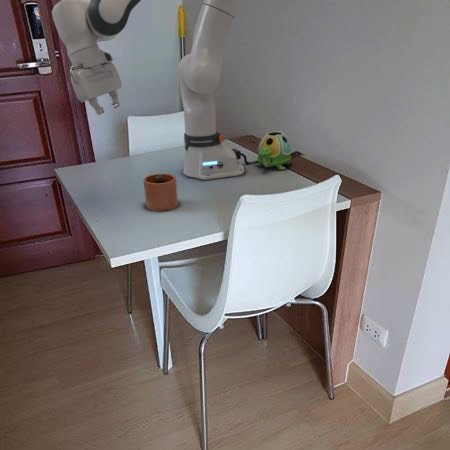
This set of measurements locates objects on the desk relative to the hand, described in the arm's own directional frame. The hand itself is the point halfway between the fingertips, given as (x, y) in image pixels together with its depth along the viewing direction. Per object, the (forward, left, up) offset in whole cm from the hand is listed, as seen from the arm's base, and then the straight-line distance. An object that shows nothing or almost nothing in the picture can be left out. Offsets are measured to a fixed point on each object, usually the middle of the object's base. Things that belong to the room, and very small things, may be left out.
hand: (109, 110), depth 145 cm
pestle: (-13, +8, -27) cm, 31 cm away
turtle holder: (-56, -23, -28) cm, 66 cm away
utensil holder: (-13, +8, -27) cm, 31 cm away
